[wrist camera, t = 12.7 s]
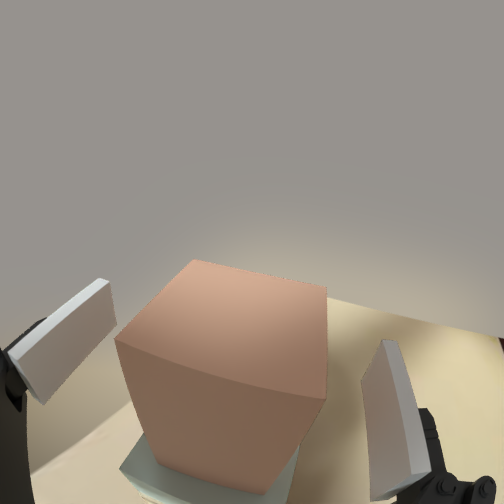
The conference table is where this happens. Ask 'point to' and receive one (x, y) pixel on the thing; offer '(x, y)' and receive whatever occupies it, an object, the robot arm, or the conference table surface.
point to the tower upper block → (195, 482)
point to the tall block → (227, 372)
